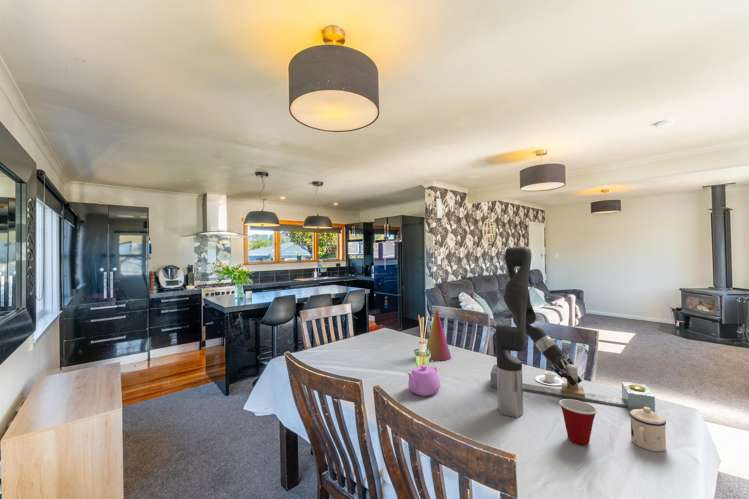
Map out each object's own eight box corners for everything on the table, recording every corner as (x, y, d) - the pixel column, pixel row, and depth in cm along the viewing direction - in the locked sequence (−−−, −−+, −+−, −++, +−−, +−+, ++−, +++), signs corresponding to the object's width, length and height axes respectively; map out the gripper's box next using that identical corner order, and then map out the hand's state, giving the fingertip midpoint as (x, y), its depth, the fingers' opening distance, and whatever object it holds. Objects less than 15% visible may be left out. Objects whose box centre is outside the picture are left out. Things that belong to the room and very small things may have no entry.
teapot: (425, 381, 159) (425, 357, 159) (448, 390, 149) (447, 364, 149) (396, 394, 146) (396, 368, 146) (419, 404, 136) (418, 376, 136)
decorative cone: (418, 357, 196) (417, 307, 197) (435, 351, 207) (433, 303, 207) (440, 363, 184) (439, 310, 185) (456, 356, 195) (455, 306, 195)
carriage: (584, 399, 135) (584, 370, 135) (562, 395, 138) (561, 367, 139) (582, 390, 143) (581, 363, 143) (561, 387, 146) (560, 361, 146)
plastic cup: (605, 443, 106) (604, 406, 106) (587, 454, 101) (586, 415, 101) (571, 428, 116) (570, 394, 116) (553, 437, 110) (552, 402, 110)
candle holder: (531, 382, 157) (531, 373, 157) (540, 374, 166) (539, 366, 166) (559, 389, 149) (559, 379, 149) (566, 381, 157) (566, 372, 157)
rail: (655, 415, 123) (654, 395, 123) (490, 388, 150) (490, 371, 150) (646, 401, 134) (645, 383, 134) (494, 378, 161) (494, 363, 161)
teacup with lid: (635, 433, 112) (634, 398, 112) (670, 445, 104) (669, 409, 105) (622, 445, 105) (621, 409, 105) (659, 460, 97) (658, 421, 98)
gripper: (545, 346, 143) (575, 383, 133) (562, 341, 151) (592, 375, 141) (534, 355, 148) (562, 391, 137) (551, 349, 155) (579, 383, 145)
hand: (577, 383), depth 139 cm, fingers closed on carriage, 4 cm apart
